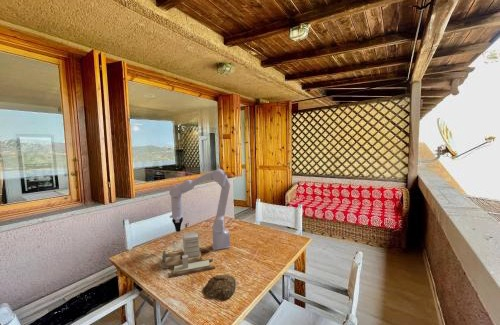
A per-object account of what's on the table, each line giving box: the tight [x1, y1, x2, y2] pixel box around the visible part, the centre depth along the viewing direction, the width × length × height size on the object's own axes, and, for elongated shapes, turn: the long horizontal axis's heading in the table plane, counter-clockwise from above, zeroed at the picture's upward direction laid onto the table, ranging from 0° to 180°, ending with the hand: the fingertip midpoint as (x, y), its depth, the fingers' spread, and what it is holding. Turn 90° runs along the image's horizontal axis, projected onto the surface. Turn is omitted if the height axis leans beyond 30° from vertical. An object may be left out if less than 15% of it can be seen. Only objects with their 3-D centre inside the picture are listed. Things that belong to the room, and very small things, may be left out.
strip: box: [173, 255, 211, 273], centre depth 102 cm, size 16×5×6 cm, turn 108°
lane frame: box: [168, 248, 216, 278], centre depth 107 cm, size 20×20×1 cm
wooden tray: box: [161, 247, 203, 270], centre depth 109 cm, size 18×10×5 cm, turn 108°
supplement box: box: [182, 231, 200, 258], centre depth 111 cm, size 7×7×13 cm
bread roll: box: [202, 274, 237, 301], centre depth 86 cm, size 13×12×5 cm
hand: (178, 231), depth 122 cm, fingers closed
